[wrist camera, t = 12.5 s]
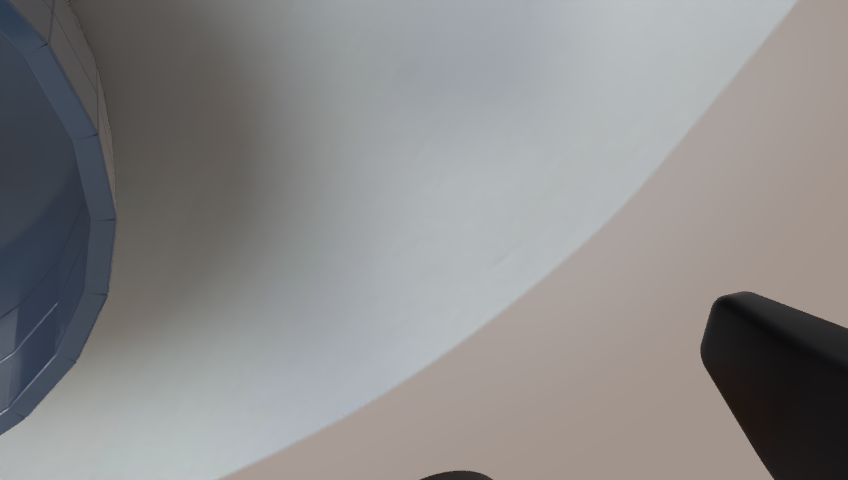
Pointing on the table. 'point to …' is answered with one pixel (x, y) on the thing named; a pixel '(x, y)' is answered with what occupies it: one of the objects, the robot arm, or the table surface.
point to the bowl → (50, 200)
